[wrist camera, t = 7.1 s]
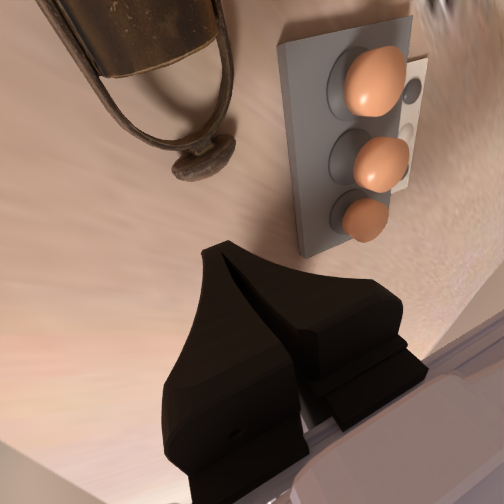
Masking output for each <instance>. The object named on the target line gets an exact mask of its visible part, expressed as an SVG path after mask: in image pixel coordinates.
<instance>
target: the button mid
mask: <svg viewBox="0 0 504 504" xmlns="http://www.w3.org/2000/svg"><path fill="white" fill-rule="evenodd" d="M409 157H410V152H409V147H408V144H407V143H406V142H405V141H404V140H403V139H399V138H390V137H381V136H380V137H375V138H372V139H371V140H369V141H368V142H367V143H366V144H365V145H364V146H363V147H362V148H361V150H360V151H359V153H358V155H357V157H356V160H355V163H354V168H353V175H354V179H355V181H356V183H357V184H358V185H359V186H361V187H363V188H366V189H369V190H372V191H375V192H378V193H383V192H386V191H388V190H390V189H392V188H393V187H394V186H395V185H396V184H397V183H398V182H399V181H400V180H401V178H402V177H403V175H404V173H405V171H406V169H407V166H408V163H409Z"/></svg>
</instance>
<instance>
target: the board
mask: <svg viewBox="0 0 504 504" xmlns="http://www.w3.org/2000/svg"><path fill="white" fill-rule="evenodd" d="M412 20H413V15H411V16H407V17H402V18H397V19H393V20H388V21H383V22H379V23H374V24H369V25H365V26H360V27H355V28H351V29H346V30H341V31H337V32H332V33H328V34H323V35H318V36H314V37H309V38H304V39H300V40H295V41H290V42H286V43H283V44H281V45H279V46H277V53H278V63H279V72H280V81H281V90H282V99H283V108H284V117H285V126H286V135H287V144H288V153H289V162H290V171H291V180H292V189H293V198H294V207H295V216H296V225H297V234H298V243H299V252H300V255H302V256H303V257H304V258H305V259H307V258H309V257H312V256H314V255H316V254H318V253H321V252H323V251H325V250H328V249H330V248H332V247H334V246H337V245H339V244H341V243H344V242H346V241H348V240H350V239H353V238H352V237H351V236H349V235H347V234H346V233H345V232H344V230H343V227H342V222H343V218H344V215H345V213H346V211H347V209H348V208H349V207H350V205H351V204H352V203H353V202H355V201H356V200H358V199H360V198H363V197H368V198H371V199H373V200H376V201H379V202H381V203H384V204H385V205H386V206H387V208H388V212H389V204H390V196H391V189H390V190H388V191H386V192H383V193H378V192H375V191H372V190H369V189H366V188H363V187H361V186H359V185H358V184H357V183H356V181H355V179H354V175H353V168H354V163H355V160H356V157H357V155H358V153H359V151H360V150H361V148H362V147H363V146H364V145H365V144H366V143H367V142H368V141H369V140H371V139H372V138H375V137H380V136H381V137H390V138H398V132H399V124H400V116H401V108H402V100H403V92H404V88H403V91H402V93H401V95H400V97H399V99H398V101H397V103H396V104H395V105H394V106H393V108H392V109H391V110H390V111H388V112H387V113H386V114H384V115H382V116H378V117H371V116H356V115H354V114H352V113H351V112H350V111H349V110H348V108H347V106H346V104H345V100H344V82H345V78H346V75H347V72H348V70H349V68H350V66H351V64H352V63H353V61H354V60H355V59H356V58H357V57H358V56H359V55H360V54H362V53H364V52H366V51H369V50H373V49H377V48H381V47H385V46H394V47H397V48H398V49H399V50H400V51H401V52H402V54H403V56H404V58H405V62H406V68H407V60H408V52H409V44H410V36H411V28H412ZM386 224H387V223H386Z"/></svg>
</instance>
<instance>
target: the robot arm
mask: <svg viewBox="0 0 504 504" xmlns="http://www.w3.org/2000/svg"><path fill="white" fill-rule="evenodd" d="M201 255H202V259H203V279H202V288H201V295H200V300H199V304H198V308H197V312H196V315H195V318H194V322H193V325H192V328H191V330H190V333H189V335H188V338H187V340H186V342H185V345H184V347H183V349H182V352H181V354H180V356H179V358H178V360H177V362H176V363H175V365H174V367H173V369H172V371H171V373H170V375H169V376H168V378H167V380H166V382H165V384H164V387H163V397H162V416H161V424H162V436H163V445H164V454H165V456H166V457H167V459H168V460H169V461H170V462H171V463H173V464H174V465H175V466H176V467H178V468H179V469H180V470H181V471H183V472H184V473H185V474H186V475H188V479H189V486H190V492H191V499H192V504H504V310H502V311H501V312H499V313H497V314H496V315H494V316H493V317H491V318H489V319H488V320H486V321H485V322H483V323H481V324H480V325H478V326H476V327H475V328H473V329H472V330H470V331H468V332H467V333H465V334H464V335H462V336H460V337H459V338H457V339H456V340H454V341H452V342H451V343H449V344H447V345H446V346H444V347H443V348H441V349H439V350H438V351H436V352H435V353H433V354H431V355H430V356H428V357H427V358H425V359H423V360H422V361H420V360H419V359H418V358H417V357H416V356H414V355H413V354H412V353H411V352H410V351H409V350H408V349H407V348H406V347H407V346H408V344H407V342H406V341H405V340H404V339H403V338H402V337H401V336H399V335H398V331H399V327H400V323H401V320H402V315H403V305H402V301H401V300H400V299H399V298H398V297H397V296H395V295H394V294H393V293H391V292H390V291H389V290H387V289H386V288H385V287H383V286H382V285H380V284H379V283H377V282H376V281H374V280H373V279H354V278H339V277H331V276H323V275H317V274H312V273H307V272H302V271H298V270H294V269H291V268H287V267H284V266H281V265H278V264H275V263H272V262H270V261H267V260H265V259H263V258H261V257H259V256H257V255H254V254H252V253H250V252H249V251H247V250H245V249H243V248H241V247H239V246H238V245H236V244H234V243H233V242H231V241H229V240H227V241H225V242H222V243H219V244H217V245H214V246H212V247H209V248H207V249H204V250H202V252H201Z"/></svg>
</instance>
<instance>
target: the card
mask: <svg viewBox="0 0 504 504" xmlns="http://www.w3.org/2000/svg"><path fill="white" fill-rule="evenodd" d="M427 64H428V58H423V59H420V60H416V61H412V62H408V63H407V68H406V80H405V84H404V92H403V100H402V108H401V116H400V124H399V132H398V138H399V139H403V140H404V141H405V142H406V143H407V144H408V147H409V152H410V157H409V163H408V166H407V169H406V171H405V173H404V175H403V177H402V178H401V180H400V181H399V182H398V183H397V184H396V185H395V186H394V187H393V188H392V189H391V194H392V193H395V192H397V191H399V190H402V189H404V188H407V187H408V180H409V174H410V168H411V162H412V156H413V150H414V143H415V137H416V131H417V125H418V119H419V113H420V107H421V100H422V94H423V88H424V82H425V76H426V70H427Z"/></svg>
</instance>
